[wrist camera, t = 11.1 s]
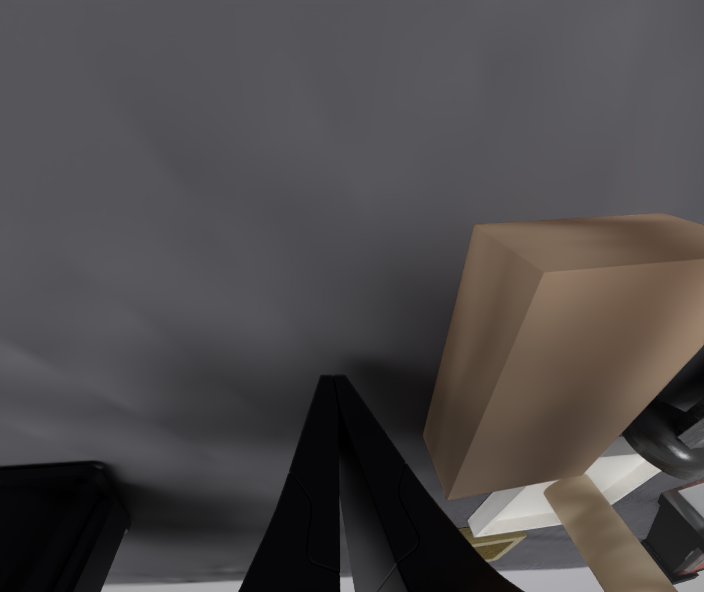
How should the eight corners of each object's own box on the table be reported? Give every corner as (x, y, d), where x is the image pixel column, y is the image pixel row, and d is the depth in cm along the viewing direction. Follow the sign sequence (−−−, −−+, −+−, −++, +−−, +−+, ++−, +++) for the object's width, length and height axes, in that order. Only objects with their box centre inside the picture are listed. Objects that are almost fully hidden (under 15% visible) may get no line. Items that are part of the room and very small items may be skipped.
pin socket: (435, 554, 29) (440, 569, 28) (457, 528, 26) (464, 545, 25) (490, 545, 30) (496, 560, 29) (518, 520, 27) (526, 536, 26)
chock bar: (420, 429, 16) (446, 500, 13) (468, 220, 9) (544, 272, 6) (533, 412, 17) (581, 475, 14) (652, 210, 10) (790, 251, 7)
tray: (467, 520, 25) (474, 537, 24) (537, 442, 18) (551, 461, 17) (579, 505, 27) (589, 520, 26) (674, 432, 21) (693, 448, 20)
